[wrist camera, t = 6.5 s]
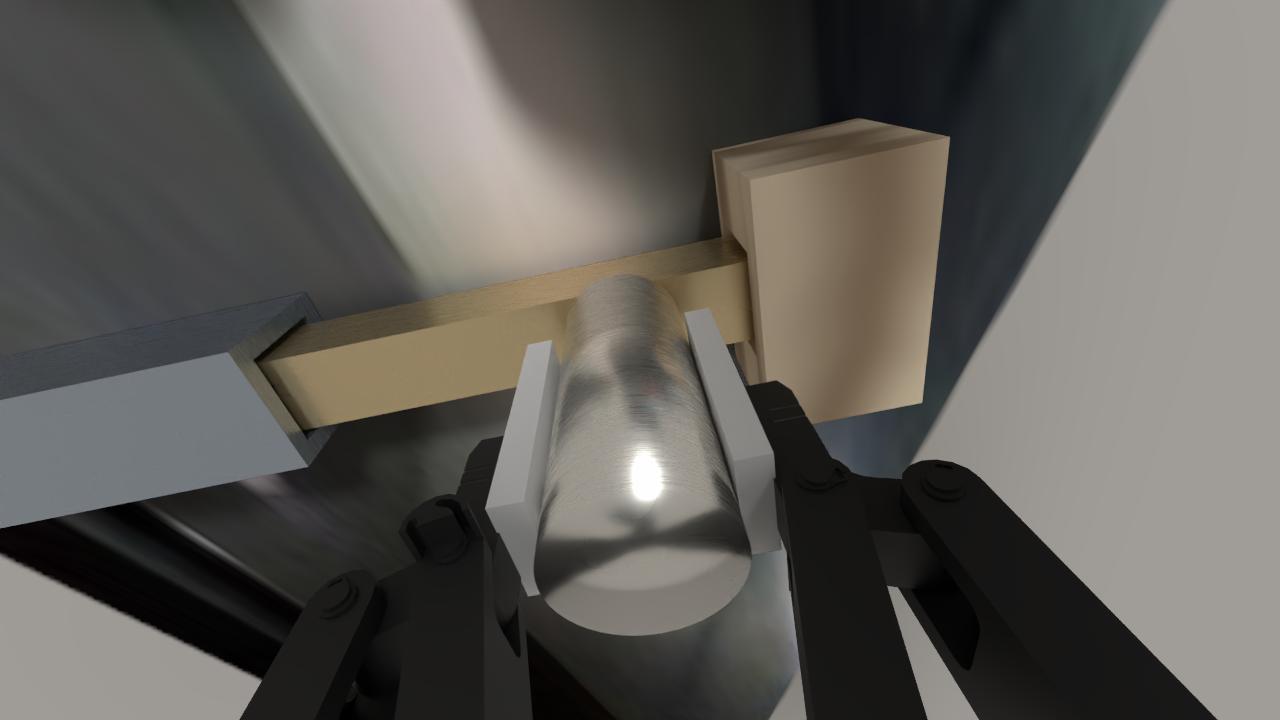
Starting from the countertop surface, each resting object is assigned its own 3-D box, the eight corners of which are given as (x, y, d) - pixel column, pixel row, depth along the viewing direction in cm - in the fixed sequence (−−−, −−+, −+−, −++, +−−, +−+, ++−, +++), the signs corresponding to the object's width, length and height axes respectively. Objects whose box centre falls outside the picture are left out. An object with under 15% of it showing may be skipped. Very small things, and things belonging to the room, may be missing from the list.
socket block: (735, 355, 24) (770, 432, 19) (711, 150, 19) (749, 180, 14) (854, 331, 23) (921, 402, 18) (858, 118, 19) (949, 137, 14)
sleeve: (96, 446, 24) (-15, 531, 20) (9, 355, 21) (-142, 429, 17) (363, 392, 23) (308, 466, 19) (305, 292, 21) (227, 352, 16)
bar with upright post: (283, 408, 22) (-41, 759, 11) (229, 328, 20) (-235, 657, 9) (807, 301, 21) (1036, 566, 10) (804, 206, 19) (1086, 403, 8)
